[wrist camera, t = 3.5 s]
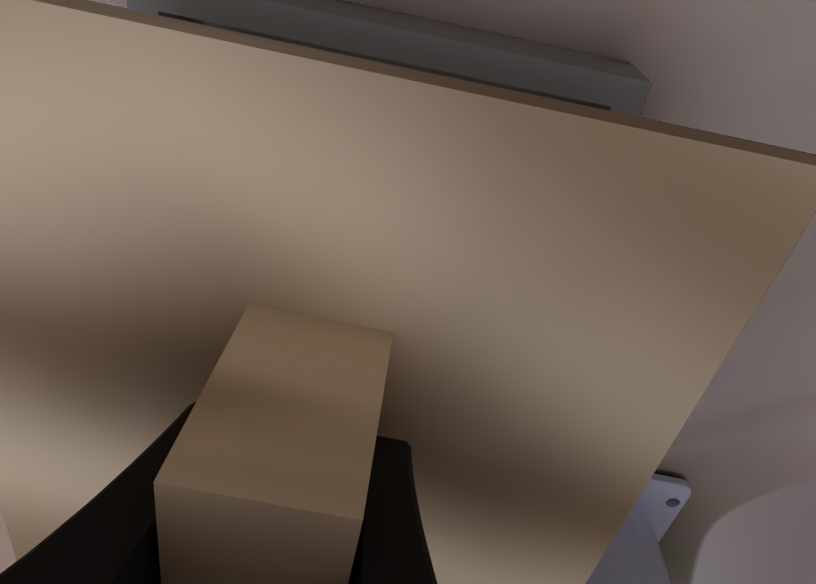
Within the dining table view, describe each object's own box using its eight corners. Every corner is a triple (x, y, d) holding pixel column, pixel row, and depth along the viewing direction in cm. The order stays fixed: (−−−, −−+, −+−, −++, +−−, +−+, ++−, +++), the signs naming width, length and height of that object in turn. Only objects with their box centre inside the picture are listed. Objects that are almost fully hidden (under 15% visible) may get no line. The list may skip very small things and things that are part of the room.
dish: (504, 400, 22) (508, 445, 20) (177, 337, 22) (151, 377, 20) (629, 62, 16) (652, 82, 14) (166, -38, 15) (125, -31, 13)
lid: (538, 630, 15) (560, 844, 12) (32, 540, 15) (-100, 735, 11) (818, 155, 8) (1073, 336, 5) (-126, -45, 8) (-594, -3, 4)
